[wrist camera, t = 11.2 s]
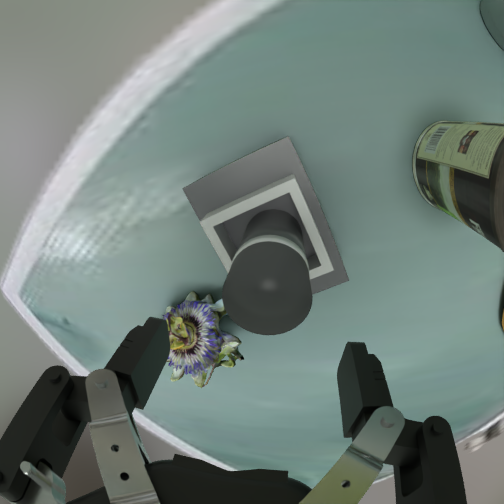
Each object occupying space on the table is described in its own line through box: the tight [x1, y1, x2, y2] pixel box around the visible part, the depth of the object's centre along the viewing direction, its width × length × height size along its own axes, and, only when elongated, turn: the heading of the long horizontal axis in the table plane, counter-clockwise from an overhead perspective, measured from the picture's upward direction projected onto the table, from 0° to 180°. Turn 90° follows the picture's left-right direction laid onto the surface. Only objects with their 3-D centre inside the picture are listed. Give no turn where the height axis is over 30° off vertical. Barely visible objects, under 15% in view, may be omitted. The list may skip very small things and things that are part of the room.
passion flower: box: [163, 291, 244, 388], centre depth 32 cm, size 11×11×12 cm
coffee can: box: [413, 121, 504, 252], centre depth 18 cm, size 10×10×14 cm
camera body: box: [183, 136, 349, 294], centre depth 26 cm, size 10×14×8 cm
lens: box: [222, 209, 312, 335], centre depth 20 cm, size 5×5×10 cm
